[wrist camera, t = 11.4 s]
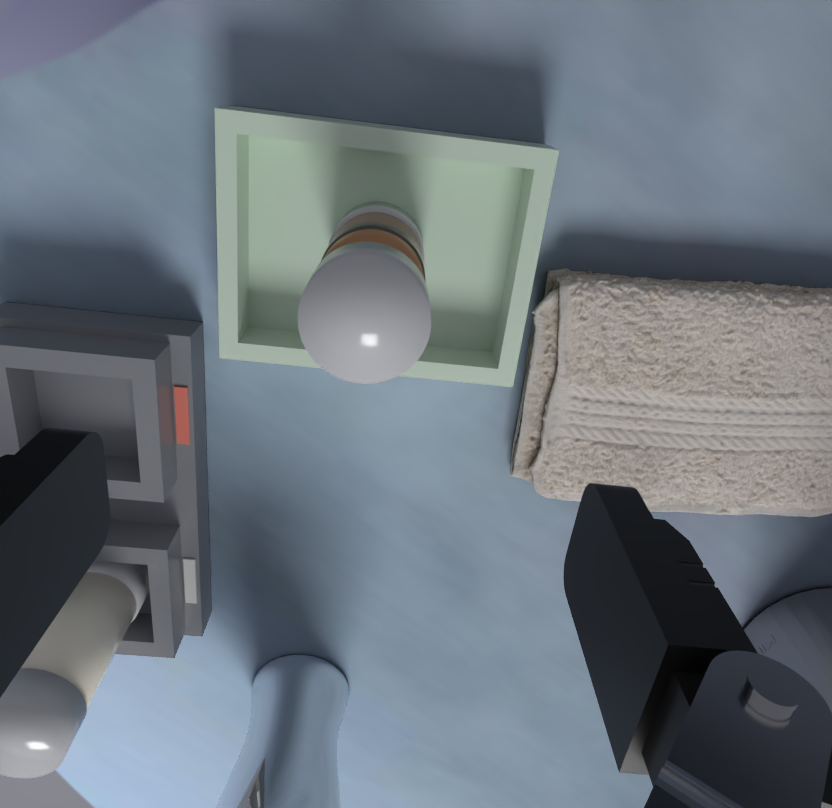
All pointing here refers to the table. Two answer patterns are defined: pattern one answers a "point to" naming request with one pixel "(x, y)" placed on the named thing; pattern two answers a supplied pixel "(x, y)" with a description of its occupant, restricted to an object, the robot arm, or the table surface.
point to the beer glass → (291, 737)
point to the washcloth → (680, 394)
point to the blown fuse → (368, 297)
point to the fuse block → (125, 443)
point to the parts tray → (385, 182)
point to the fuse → (67, 669)
